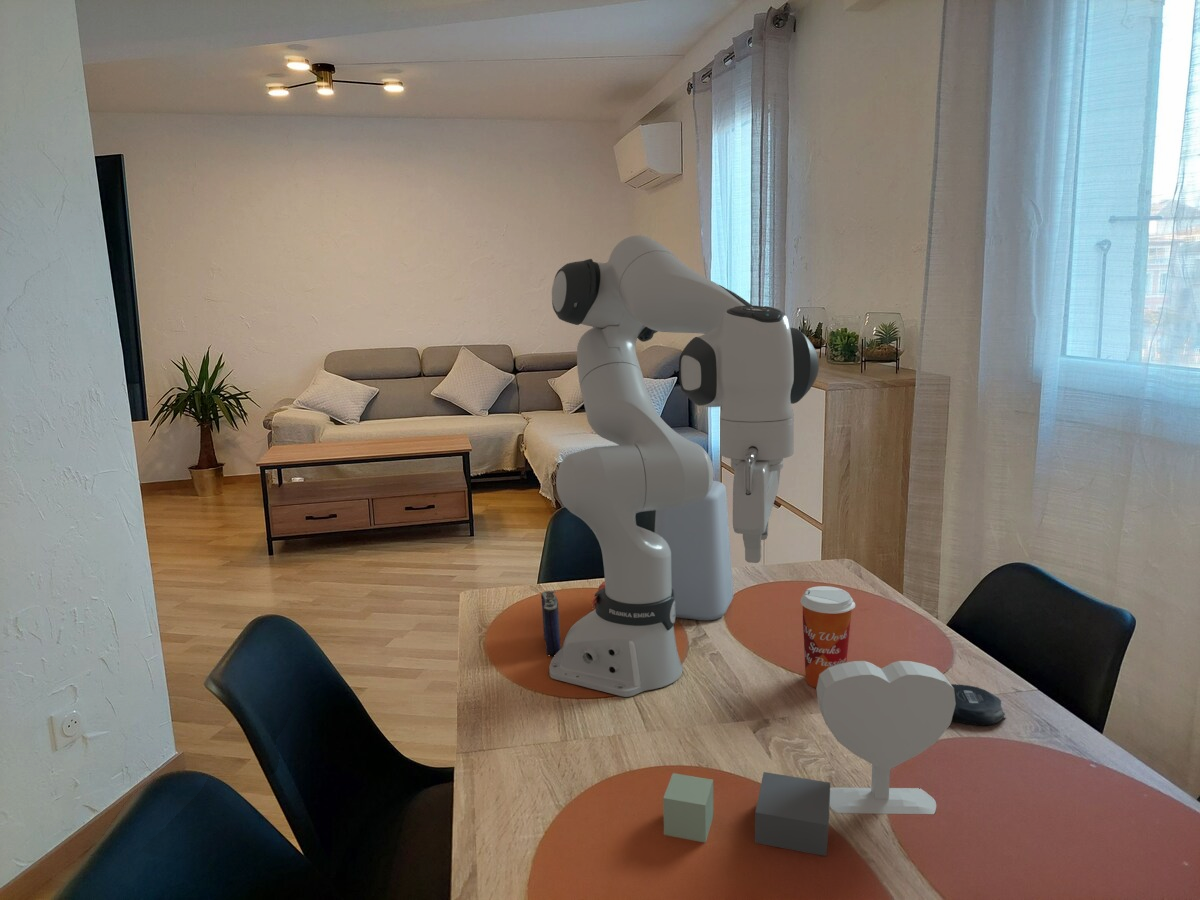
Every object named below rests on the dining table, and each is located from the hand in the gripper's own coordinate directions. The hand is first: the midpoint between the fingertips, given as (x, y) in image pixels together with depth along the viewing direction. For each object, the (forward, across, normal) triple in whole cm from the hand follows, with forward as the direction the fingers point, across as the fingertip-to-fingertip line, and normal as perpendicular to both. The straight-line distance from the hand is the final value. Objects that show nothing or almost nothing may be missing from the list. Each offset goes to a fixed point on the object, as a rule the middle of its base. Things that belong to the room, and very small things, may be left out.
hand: (757, 549), depth 99 cm
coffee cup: (+31, +28, -8) cm, 42 cm away
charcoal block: (+31, -9, -5) cm, 33 cm away
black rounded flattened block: (+32, +23, -26) cm, 47 cm away
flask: (+30, +30, +40) cm, 58 cm away
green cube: (+31, -12, +7) cm, 34 cm away
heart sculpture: (+32, -2, -15) cm, 35 cm away
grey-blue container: (+30, +53, +18) cm, 64 cm away
